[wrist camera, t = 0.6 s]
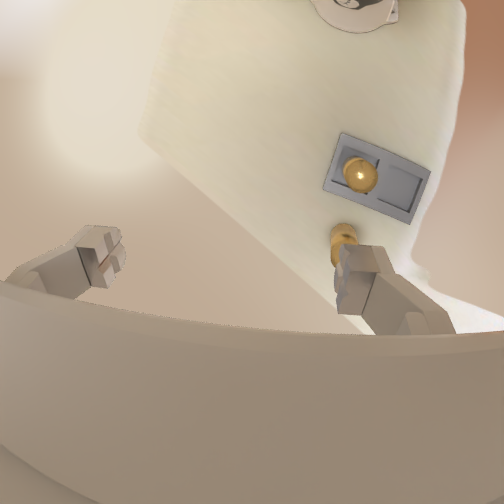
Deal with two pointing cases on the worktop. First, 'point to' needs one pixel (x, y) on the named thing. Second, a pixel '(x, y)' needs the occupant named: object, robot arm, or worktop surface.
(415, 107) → the worktop surface
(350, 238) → the cylinder
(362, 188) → the seated billet
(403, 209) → the grey divided frame
